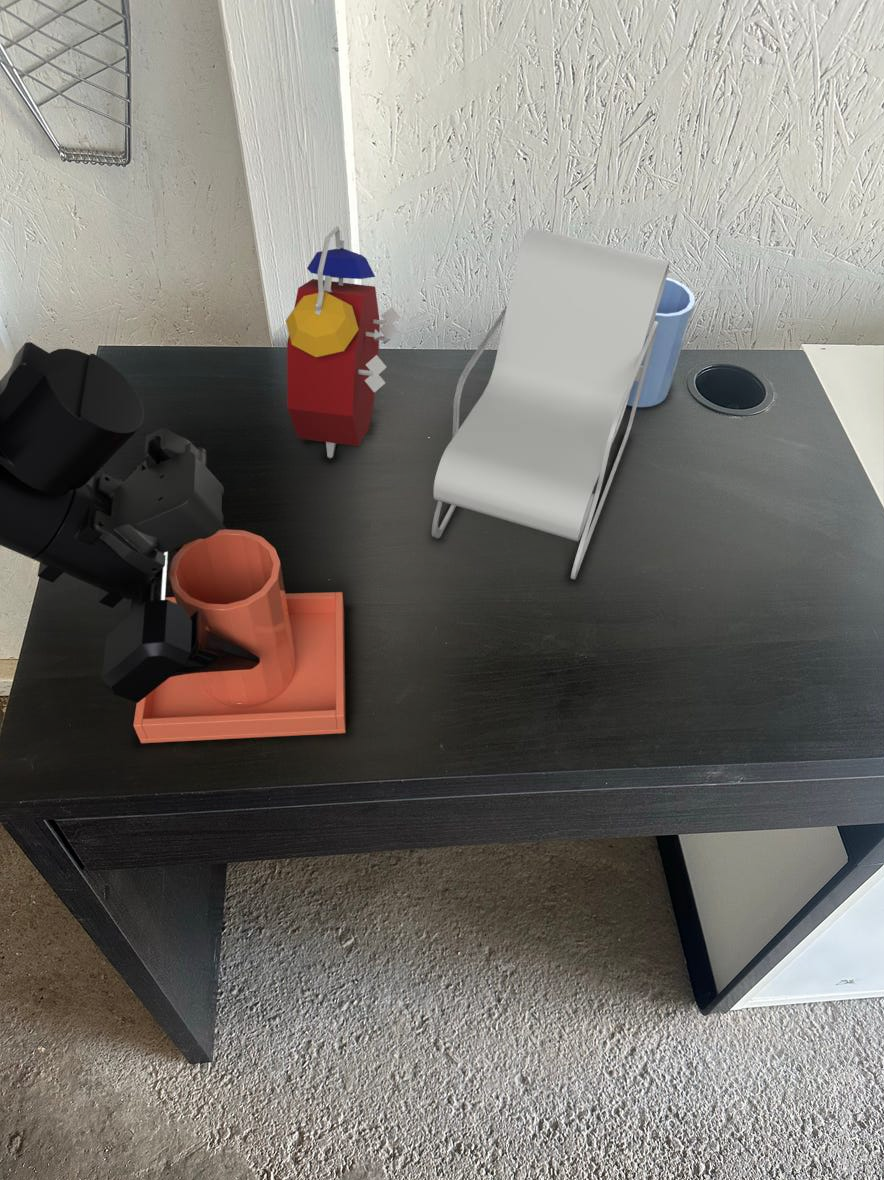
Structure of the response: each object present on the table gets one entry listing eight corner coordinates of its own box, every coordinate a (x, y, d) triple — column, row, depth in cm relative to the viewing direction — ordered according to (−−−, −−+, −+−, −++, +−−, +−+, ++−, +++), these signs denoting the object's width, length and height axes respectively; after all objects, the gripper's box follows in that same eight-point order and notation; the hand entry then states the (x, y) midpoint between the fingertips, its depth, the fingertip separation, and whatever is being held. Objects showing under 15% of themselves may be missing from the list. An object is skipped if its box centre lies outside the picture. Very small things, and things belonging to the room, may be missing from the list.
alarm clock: (324, 377, 94) (309, 188, 79) (404, 387, 94) (405, 200, 79) (292, 470, 85) (269, 278, 70) (381, 481, 85) (377, 291, 70)
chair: (631, 429, 93) (678, 250, 77) (569, 597, 78) (611, 417, 63) (510, 396, 95) (532, 215, 79) (427, 553, 80) (433, 369, 65)
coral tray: (140, 743, 66) (132, 725, 64) (159, 616, 74) (153, 597, 72) (345, 733, 68) (343, 715, 66) (344, 610, 75) (342, 591, 73)
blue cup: (637, 416, 94) (661, 324, 86) (587, 381, 97) (606, 289, 89) (681, 390, 98) (709, 299, 89) (632, 357, 101) (654, 267, 92)
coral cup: (192, 706, 68) (158, 606, 59) (209, 630, 73) (181, 526, 63) (289, 709, 68) (271, 611, 59) (300, 634, 73) (285, 531, 63)
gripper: (110, 558, 46) (337, 663, 56) (134, 344, 57) (321, 465, 67) (2, 661, 51) (229, 740, 61) (43, 446, 62) (230, 544, 72)
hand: (255, 613), depth 65 cm, fingers open, 9 cm apart
